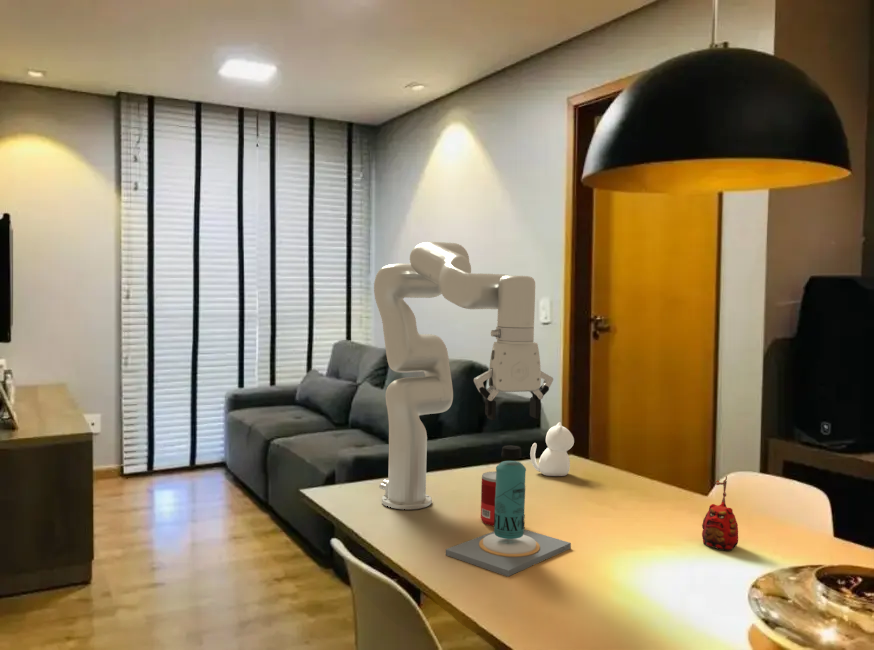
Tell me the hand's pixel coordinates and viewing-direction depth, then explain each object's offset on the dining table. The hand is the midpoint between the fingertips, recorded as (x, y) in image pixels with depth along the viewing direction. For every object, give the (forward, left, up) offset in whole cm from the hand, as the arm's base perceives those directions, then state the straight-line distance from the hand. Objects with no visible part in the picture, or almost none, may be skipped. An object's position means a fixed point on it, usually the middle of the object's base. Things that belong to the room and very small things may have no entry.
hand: (512, 418), depth 160 cm
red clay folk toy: (+30, +36, -28) cm, 55 cm away
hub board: (0, 0, -28) cm, 28 cm away
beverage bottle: (0, 0, -26) cm, 26 cm away
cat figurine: (-30, +60, -28) cm, 73 cm away
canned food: (-14, +14, -28) cm, 35 cm away
